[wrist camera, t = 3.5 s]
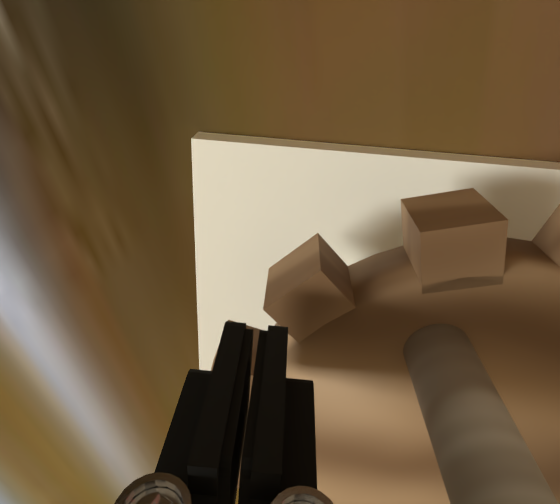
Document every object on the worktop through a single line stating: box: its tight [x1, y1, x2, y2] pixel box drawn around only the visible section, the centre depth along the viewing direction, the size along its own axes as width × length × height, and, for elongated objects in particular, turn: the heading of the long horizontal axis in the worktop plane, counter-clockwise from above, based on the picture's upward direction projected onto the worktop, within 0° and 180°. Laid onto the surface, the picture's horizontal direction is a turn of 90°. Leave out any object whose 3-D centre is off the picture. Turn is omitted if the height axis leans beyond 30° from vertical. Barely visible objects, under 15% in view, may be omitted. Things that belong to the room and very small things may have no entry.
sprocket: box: [211, 188, 560, 504], centre depth 14 cm, size 19×19×7 cm
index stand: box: [191, 132, 560, 371], centre depth 17 cm, size 19×25×9 cm
